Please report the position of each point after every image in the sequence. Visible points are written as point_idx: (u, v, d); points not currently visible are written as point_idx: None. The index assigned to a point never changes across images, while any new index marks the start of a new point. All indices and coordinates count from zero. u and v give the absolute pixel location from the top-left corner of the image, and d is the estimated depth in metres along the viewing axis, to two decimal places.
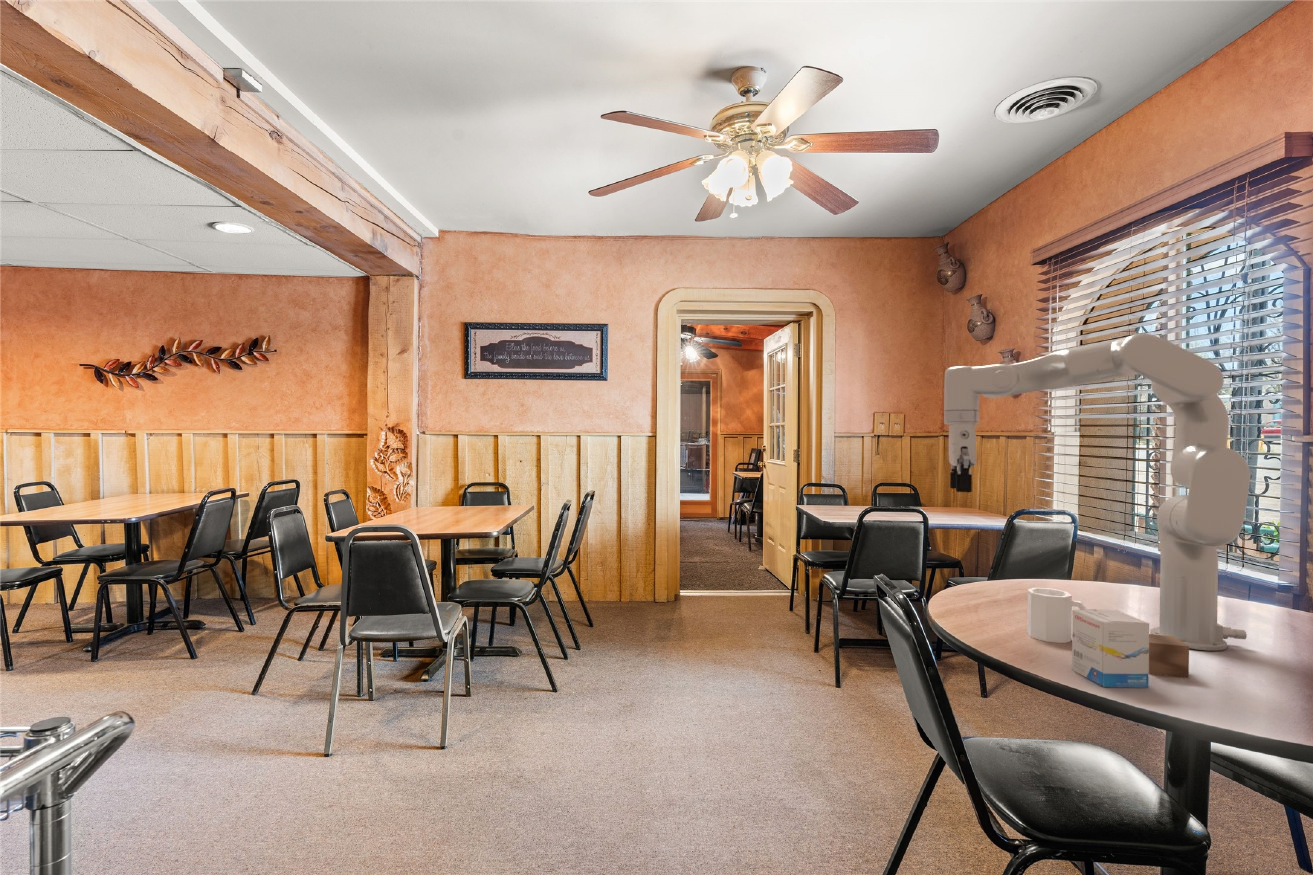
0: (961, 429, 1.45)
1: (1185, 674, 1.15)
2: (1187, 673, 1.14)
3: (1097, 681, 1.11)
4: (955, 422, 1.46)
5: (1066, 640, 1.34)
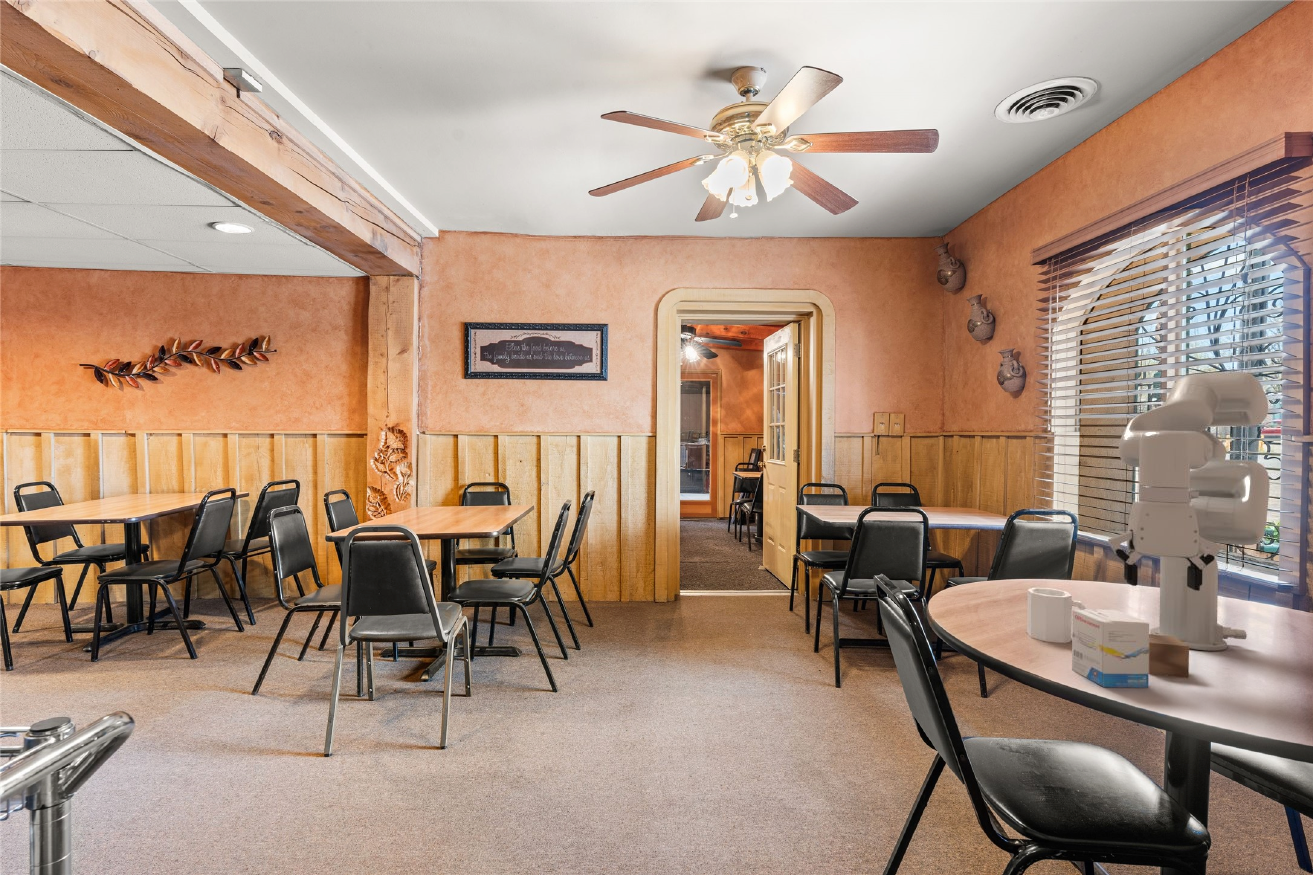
0: None
1: (1184, 674, 1.15)
2: (1187, 673, 1.14)
3: (1097, 681, 1.11)
4: (1189, 503, 1.15)
5: (1066, 640, 1.34)
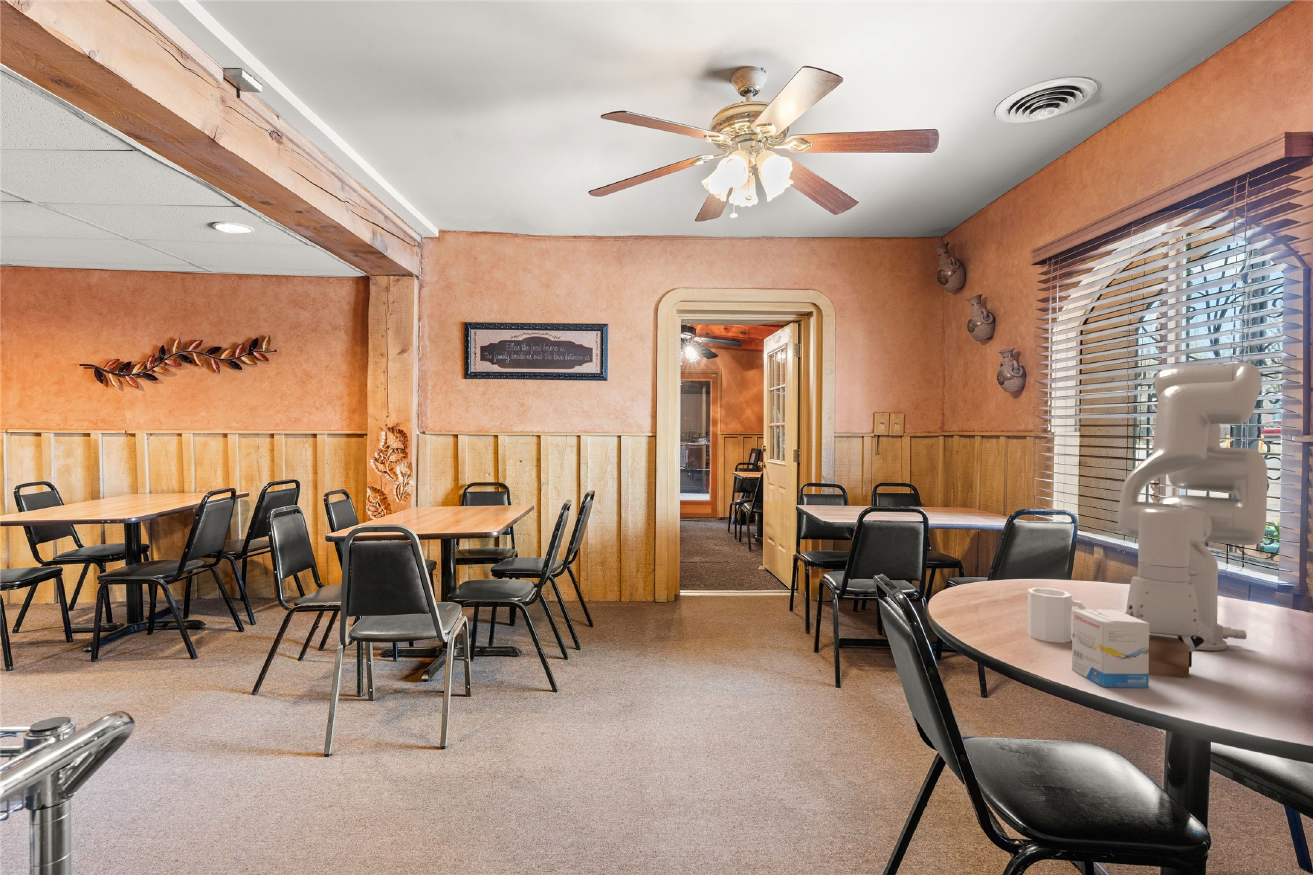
0: None
1: (1185, 674, 1.15)
2: (1187, 673, 1.14)
3: (1097, 681, 1.11)
4: (1188, 581, 1.15)
5: (1066, 640, 1.34)
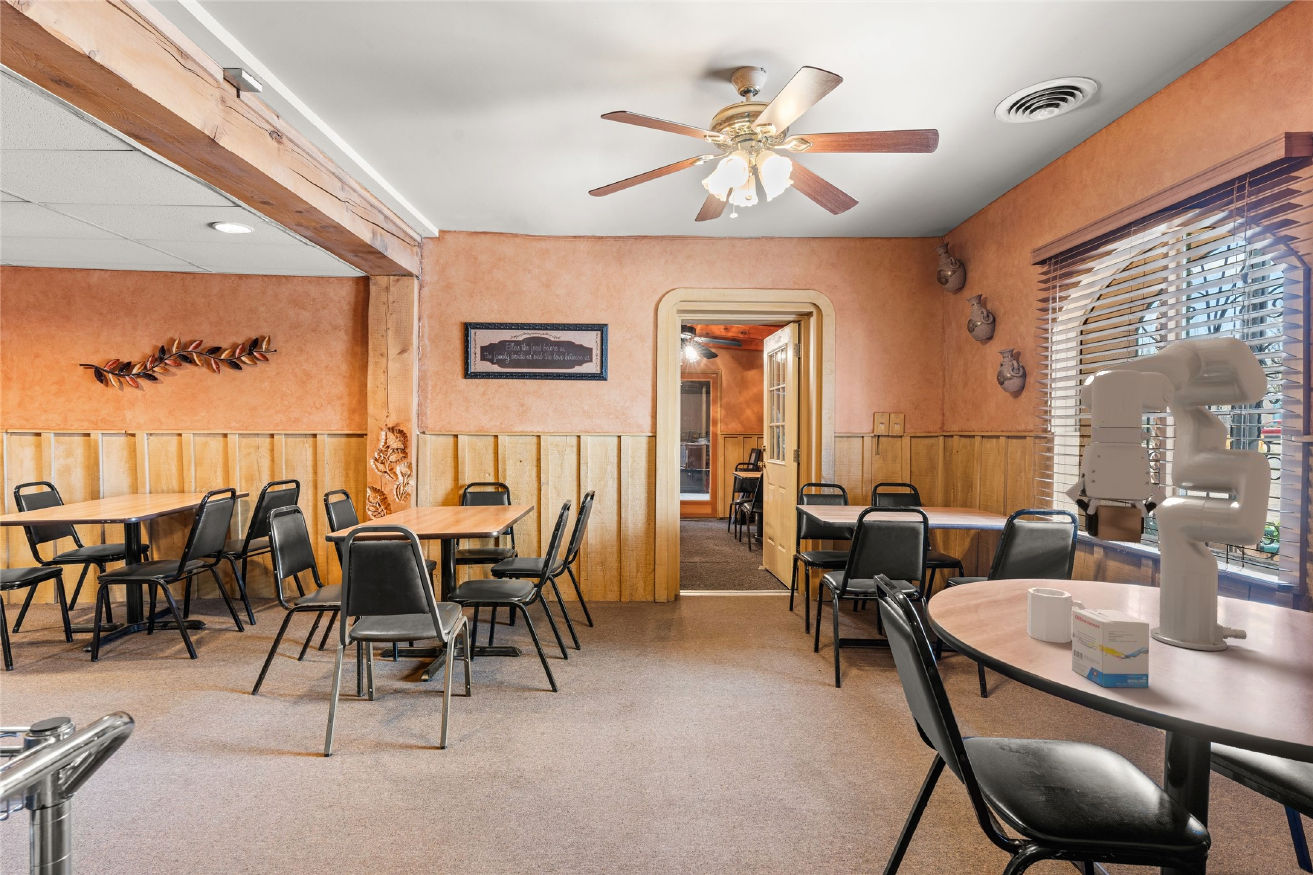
0: None
1: (1137, 538, 1.10)
2: (1139, 537, 1.10)
3: (1097, 681, 1.11)
4: (1141, 444, 1.11)
5: (1066, 640, 1.34)
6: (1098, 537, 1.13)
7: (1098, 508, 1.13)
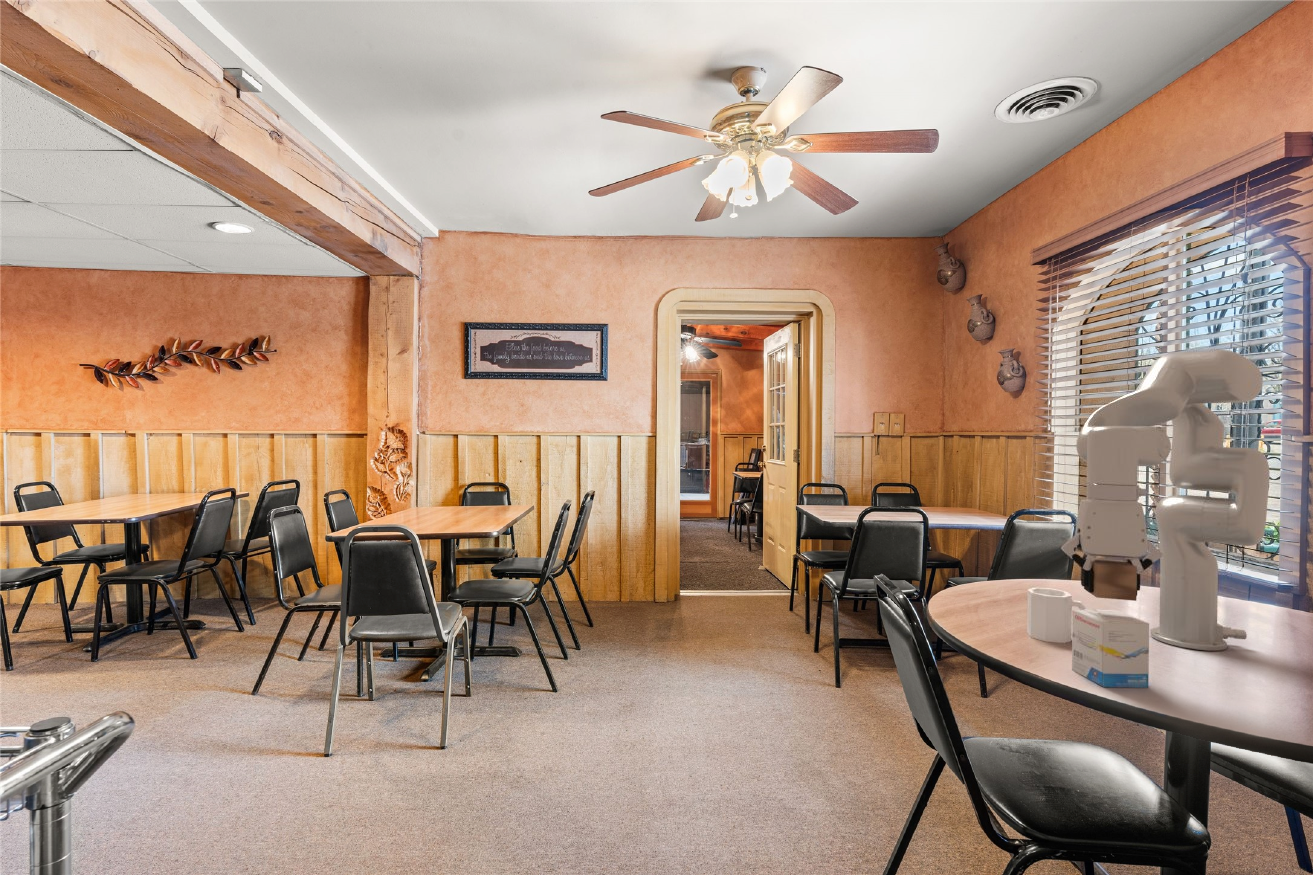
0: None
1: (1132, 596, 1.10)
2: (1135, 595, 1.10)
3: (1097, 681, 1.11)
4: (1136, 501, 1.11)
5: (1066, 640, 1.34)
6: (1094, 593, 1.13)
7: (1094, 564, 1.13)
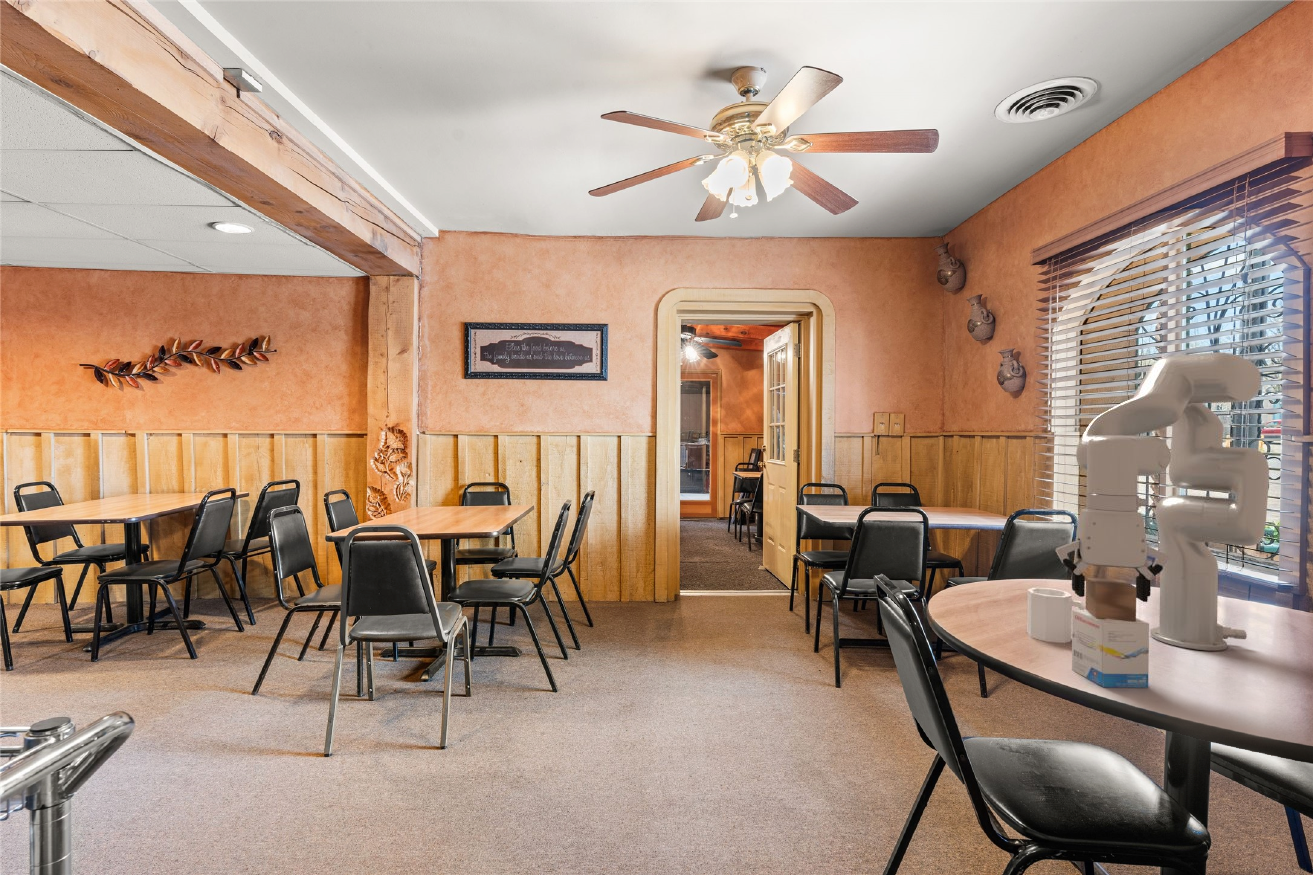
0: None
1: (1132, 616, 1.10)
2: (1134, 615, 1.10)
3: (1097, 681, 1.11)
4: (1136, 511, 1.11)
5: (1066, 640, 1.34)
6: (1093, 613, 1.13)
7: (1093, 584, 1.14)
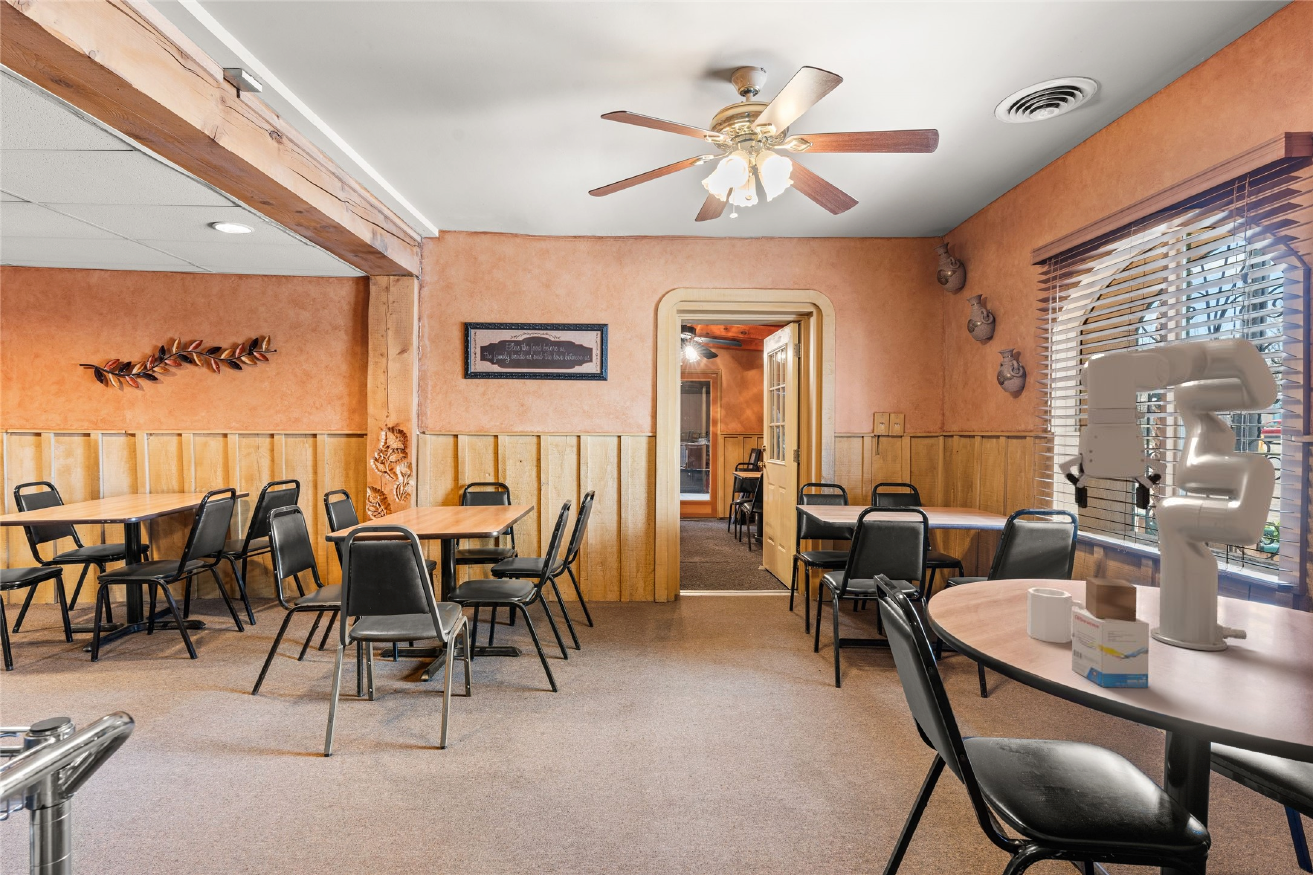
0: None
1: (1132, 616, 1.10)
2: (1134, 615, 1.10)
3: (1096, 681, 1.11)
4: (1135, 423, 1.16)
5: (1066, 640, 1.34)
6: (1093, 613, 1.13)
7: (1093, 584, 1.14)
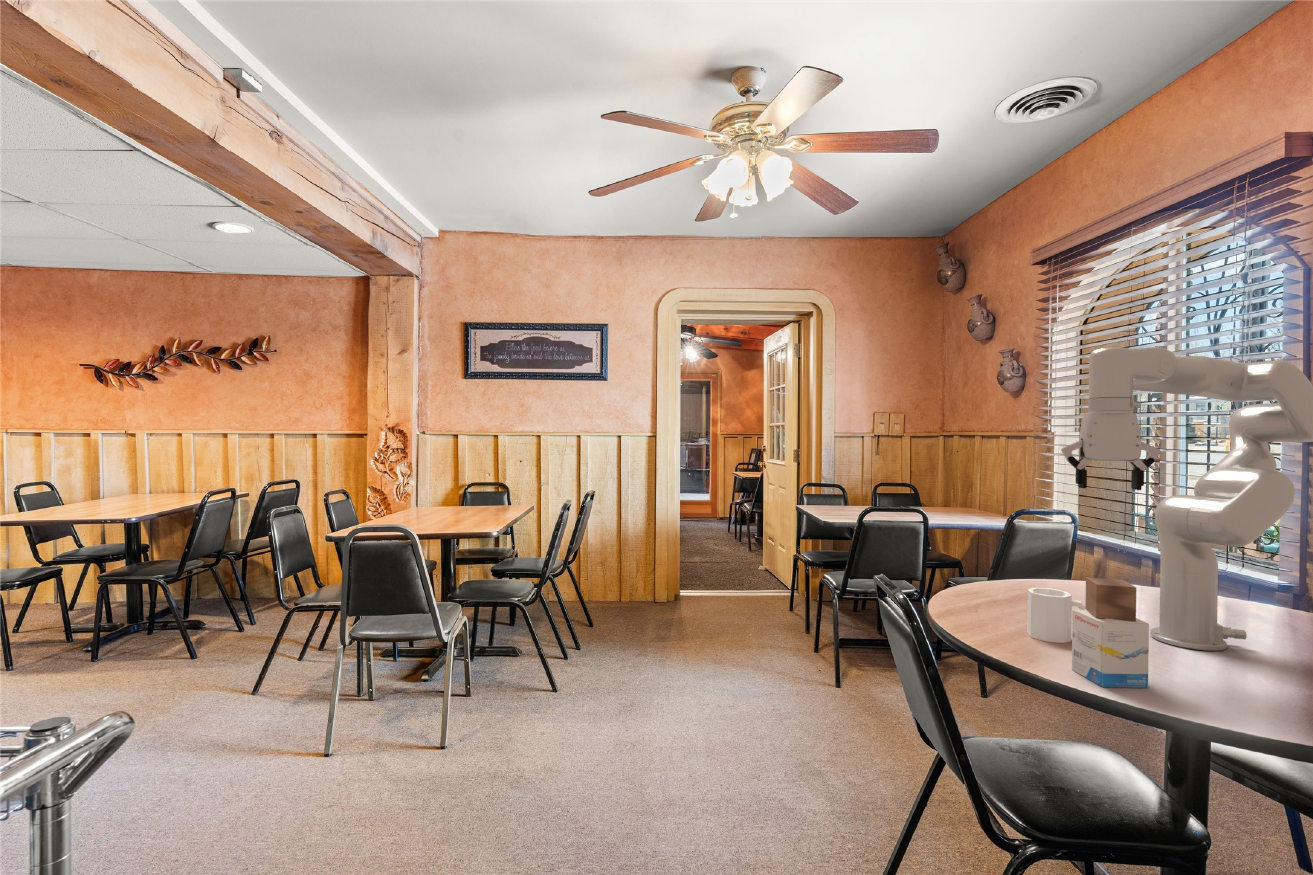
0: None
1: (1132, 616, 1.10)
2: (1134, 615, 1.10)
3: (1096, 681, 1.11)
4: (1132, 411, 1.28)
5: (1066, 640, 1.34)
6: (1093, 613, 1.13)
7: (1093, 584, 1.14)
